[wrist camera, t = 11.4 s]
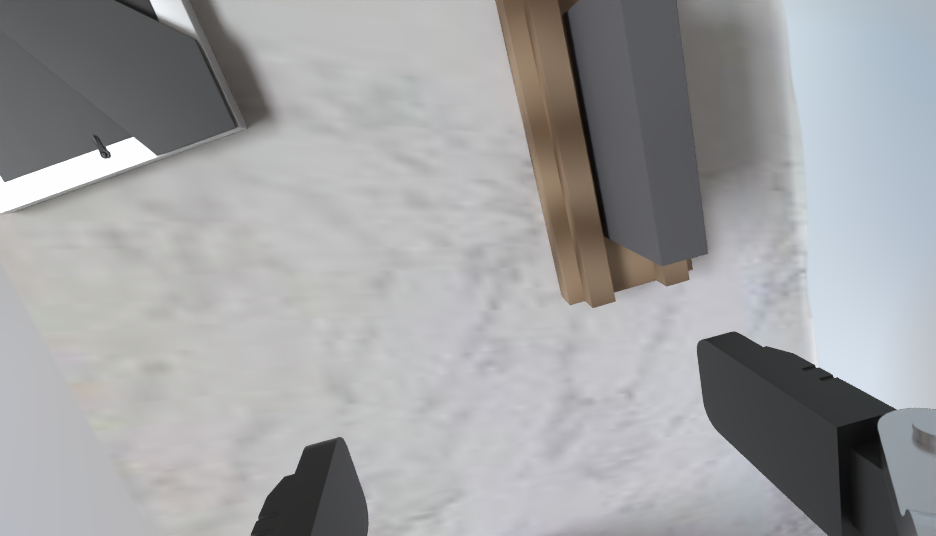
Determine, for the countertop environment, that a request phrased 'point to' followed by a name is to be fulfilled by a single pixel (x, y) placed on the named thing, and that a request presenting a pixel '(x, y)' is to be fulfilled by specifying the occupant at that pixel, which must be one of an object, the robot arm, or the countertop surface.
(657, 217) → the grey photo frame
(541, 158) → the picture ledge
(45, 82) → the picture frame
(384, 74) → the countertop surface
